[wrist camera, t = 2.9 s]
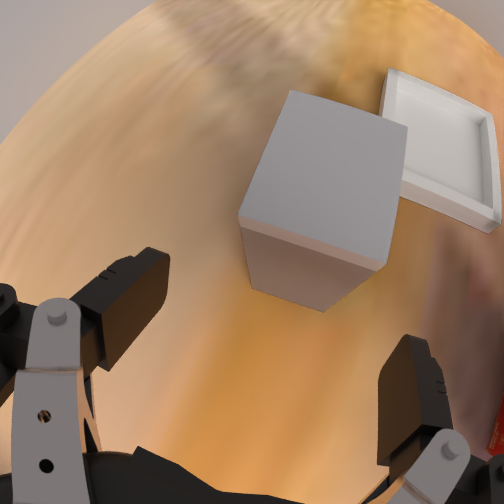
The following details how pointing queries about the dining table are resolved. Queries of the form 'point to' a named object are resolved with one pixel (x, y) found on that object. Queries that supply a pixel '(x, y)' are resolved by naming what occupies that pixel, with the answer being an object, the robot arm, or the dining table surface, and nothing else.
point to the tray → (445, 151)
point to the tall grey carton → (322, 201)
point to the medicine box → (497, 433)
